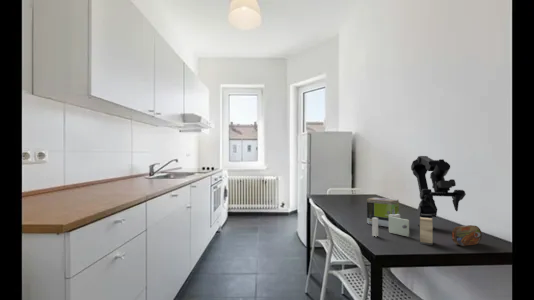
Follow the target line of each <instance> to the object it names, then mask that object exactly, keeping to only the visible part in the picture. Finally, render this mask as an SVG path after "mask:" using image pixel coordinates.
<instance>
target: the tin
mask: <svg viewBox="0 0 534 300" xmlns="http://www.w3.org/2000/svg"><path fill="white" fill-rule="evenodd" d="M451 240H452V242H453V243H454V244H455V245H457V246H462V247H467V246H474V245H478V244H479V243H480V242H481V240H482V230H481V228H480V227H479V226H477V225H472V224H470V225H469V224H468V225H459V226H455V227H454V228H453V229H452V230H451Z"/></svg>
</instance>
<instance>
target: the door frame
mask: <svg viewBox="0 0 534 300" xmlns="http://www.w3.org/2000/svg"><path fill="white" fill-rule="evenodd" d="M389 217H396V218H401V214H400V213H399V214H395V215H393V214H389ZM371 228H372V229H371V237H374V236H375V238H378V237H379V225H378V218H375V217H374V218H372V224H371ZM377 236H378V237H377Z"/></svg>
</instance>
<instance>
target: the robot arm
mask: <svg viewBox="0 0 534 300" xmlns="http://www.w3.org/2000/svg"><path fill="white" fill-rule="evenodd" d="M450 169H451V164H450V163H448V162H447V161H445V159H443V158H442V159H432V158H431V157H429V156H427V155H419V156H417V158H416V159H414V160H413V161H412V163H411V166H410V170H411V171H412V175H414V176H415V178H416V180H417V186H418V190H419V198H420V200H419V204H418V207H417V210H416V215H417V216H418V217H419V218H420V217H423V218H432V219H433V218H437V214H438V207H437V205H436V203H435V202H436V201H435V199H434V197H451V198H452V204H453V207H454V210H455V211H456V212H458V210H459V203H460V201H462V200H463V199H464V198H465V196H466V191H465V190H463V189H454V191H452V192H450V190H451V189H452V188H454V187H455V186H457V185H456V184H457V183H456V179H449V180H445V179H446V178H445V177H446V176H447V175H448V172H449V171H450ZM428 172H430V174H429V179H431V184H432V189H433V191H432V189H430V188H429V186H428V181H427V177H426V175H427V173H428ZM417 226H418V227H420V224H418V225H417ZM432 229H436V227H435V226H433V225H432Z"/></svg>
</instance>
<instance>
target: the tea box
mask: <svg viewBox="0 0 534 300" xmlns="http://www.w3.org/2000/svg"><path fill="white" fill-rule="evenodd" d="M399 203H400V202H399V199H396V198H395V199H394V198H383V197H369V198H367V199H366V223H368V224H369V225H372V218H374V217H375V218H378V227H379V226H380V227H387V228H389V214H393V215H395V214H400V205H399ZM368 224H367V225H368Z"/></svg>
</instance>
